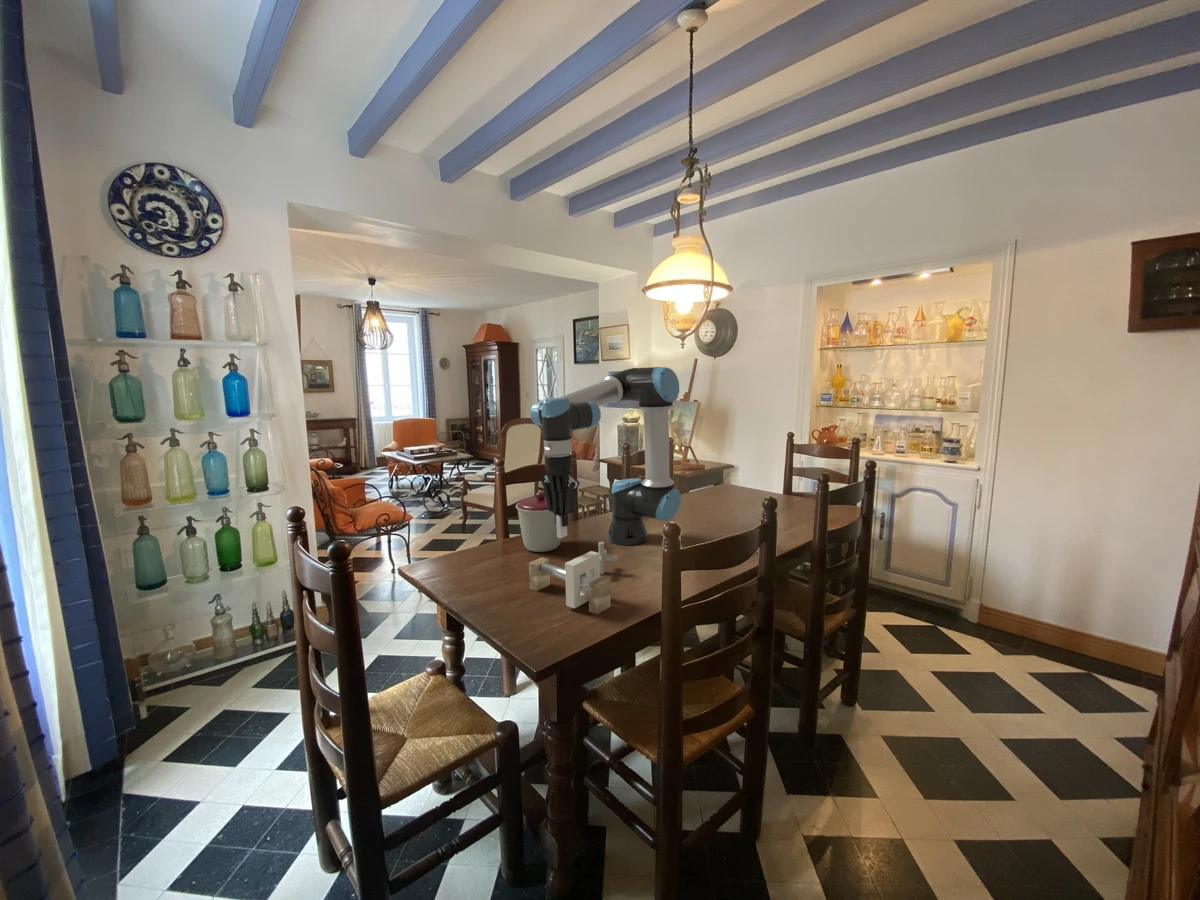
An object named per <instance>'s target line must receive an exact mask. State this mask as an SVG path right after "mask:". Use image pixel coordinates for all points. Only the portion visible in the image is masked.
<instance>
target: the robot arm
mask: <svg viewBox="0 0 1200 900" xmlns="http://www.w3.org/2000/svg"><path fill="white" fill-rule="evenodd" d="M678 378H679V377H678V376H677V374H676V373H675V371H674V370H673V369H671V368H669V367H665V366H664V367H662V366H655V367H654V366H653V367H631V368H627V369H624V370H621V371H619V372H616V373H614V374H611V375H607V376H606V377H604V378H603V379H602V380H601V381H600V382H597V383H594V384H592V385H589V386H587V387H583V388H581V389H578V390H575V391H573V392H570V393H568V394H565V395H562V396H560V397H548V398H544V399H543V400H541V401H537V402H536V401H535V403H534V404H532V405H531V408H530V411H529V412H530V413H529V414H530V415H529V416H530V420H531V421H532V423H533V424H535V425H536V426H541V427H542V433H543V448H544V449H543V450H544V451H543V453H544V454H545V456H544V468H545V470H546V475H544V476H542V477H540V478H539V480H540V482H541V485H542V487H543V492H544V493H545V496H546V500H547V505H548V509H549V511H552V512H553V513H554V515H555V524H556V526H557V538H561V539H563V538H565V537H568V525H569V515H571V514H572V513H574V511H575V505H576V499H577V493H578V492H577V491H578V488H579V486H580V484H581V483H580V481H579V480H576V479H574V478H573V474H572V471H571V470H572V468H573V455H572V454H571V453H572V452H573V450H572V447H573V446H572V431H576V430H583V429H589V428H592V427H595V426H597V425H598V424H599V423H600V421H601V417H602V416H601V413H602V412H601V409H600V407H602V406H605V405H606V404H609V403H613V404H614V403H618V402H619V403H620V402H623V401H635V402H638V407H639V409H641V411H642V413H643V429H644V430H643V432H644V433H643V436H644V440H643V441H644V468H645V478H644V479H641V478H625V479H619V480H616V481H613V483H612V487H611V513H612V514H611V523H610V525H609V529H608V531H607V540H608V541H609V542H610V543H613V544H615V545H619V546H620V545H621V546H635V545H640V544H643V543H646V541H648V532H647V529H646V525H645V522H644V517H646V518H650V519H654V520H657V521H667V522H668V521H670V520H672V519H673V518H674V517H676V515H677V513H678V511H679V509H680V506H681V503H682V502H681V501H682V496H681V495H682V493H680V490H678V489H677V488H675V481H674V480H673V479H672V478H671V477H670V475H671V474H670V433H669V432H670V431H669V429H670V428H669V427H670V426H669V411H670V410H671V408H672V407H673V406H674V405H673V404H674V402H675V401H676V400H677V399H678V398H679V394H680V382H679V379H678ZM552 505H553V506H552Z"/></svg>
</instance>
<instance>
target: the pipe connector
mask: <svg viewBox="0 0 1200 900" xmlns="http://www.w3.org/2000/svg"><path fill="white" fill-rule="evenodd" d="M597 545H598V553H600V575H604V574H605V570H606V569H605V566H606V565H605V562H618V555H615V554H614V555H613V554H608V550H607V549H605V542H604V541H598V544H597Z"/></svg>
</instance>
